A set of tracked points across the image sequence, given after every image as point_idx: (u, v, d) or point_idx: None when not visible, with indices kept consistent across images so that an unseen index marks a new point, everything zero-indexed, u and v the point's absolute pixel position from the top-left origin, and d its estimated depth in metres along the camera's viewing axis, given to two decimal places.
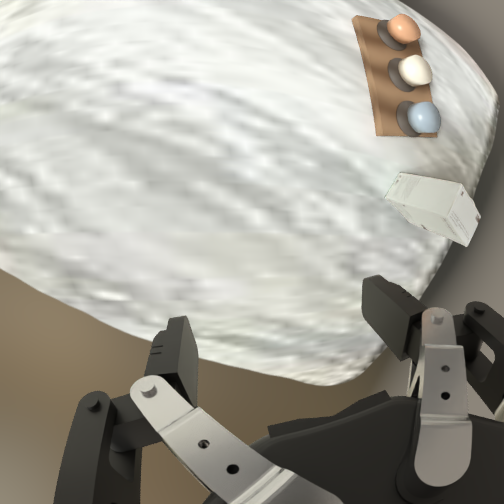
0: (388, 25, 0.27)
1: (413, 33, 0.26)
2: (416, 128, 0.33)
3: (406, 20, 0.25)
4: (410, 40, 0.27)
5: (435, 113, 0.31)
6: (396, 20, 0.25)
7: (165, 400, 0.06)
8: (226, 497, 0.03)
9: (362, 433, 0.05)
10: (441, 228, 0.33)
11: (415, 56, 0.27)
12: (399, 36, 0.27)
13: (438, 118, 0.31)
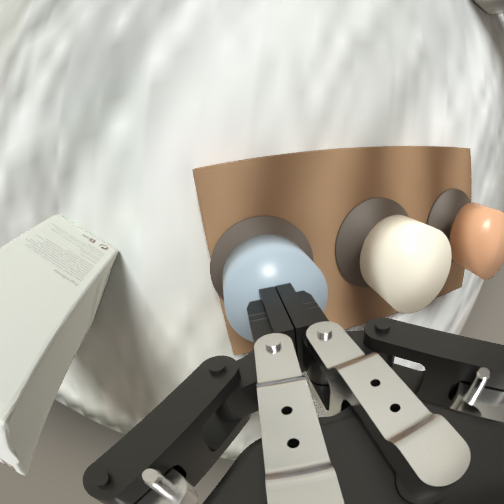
0: (478, 204, 0.15)
1: (486, 257, 0.13)
2: (229, 262, 0.14)
3: (503, 242, 0.13)
4: (469, 250, 0.14)
5: None
6: None
7: (282, 360, 0.07)
8: (268, 463, 0.04)
9: (362, 433, 0.05)
10: None
11: (448, 254, 0.13)
12: (470, 222, 0.14)
13: None
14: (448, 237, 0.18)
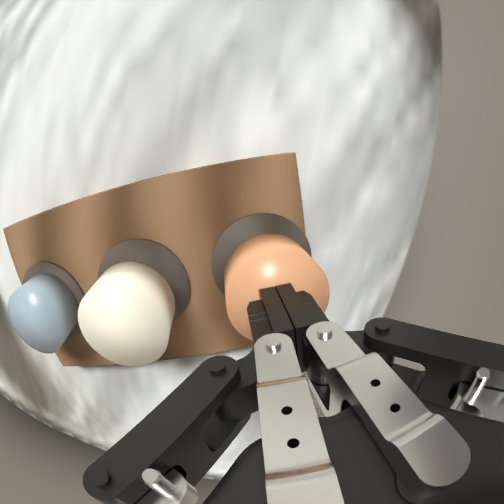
0: (273, 236, 0.14)
1: None
2: None
3: None
4: None
5: (48, 340, 0.14)
6: (286, 252, 0.12)
7: (282, 360, 0.07)
8: (268, 463, 0.04)
9: (362, 433, 0.05)
10: None
11: (154, 314, 0.12)
12: (231, 267, 0.13)
13: (45, 348, 0.14)
14: None
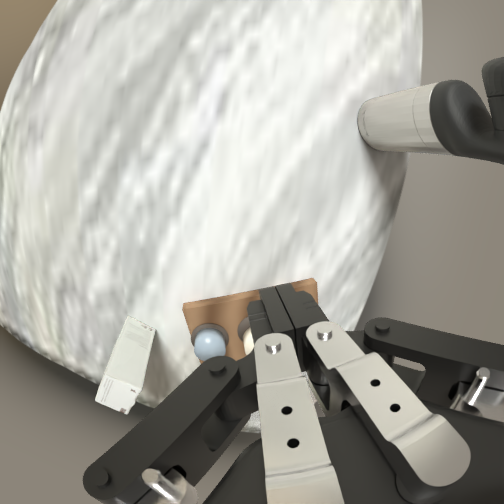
0: None
1: None
2: (196, 337, 0.43)
3: None
4: None
5: None
6: None
7: (282, 360, 0.07)
8: (268, 463, 0.04)
9: (362, 433, 0.05)
10: None
11: None
12: None
13: None
14: None
